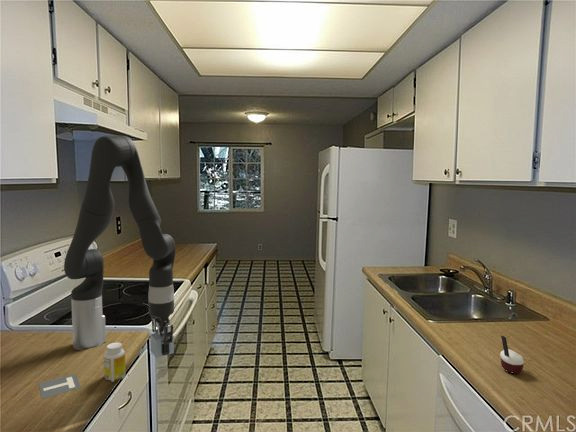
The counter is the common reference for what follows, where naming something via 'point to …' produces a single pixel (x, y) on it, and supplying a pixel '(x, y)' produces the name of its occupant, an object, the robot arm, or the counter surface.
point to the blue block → (159, 345)
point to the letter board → (59, 385)
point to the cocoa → (511, 359)
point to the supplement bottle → (114, 362)
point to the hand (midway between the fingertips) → (162, 350)
